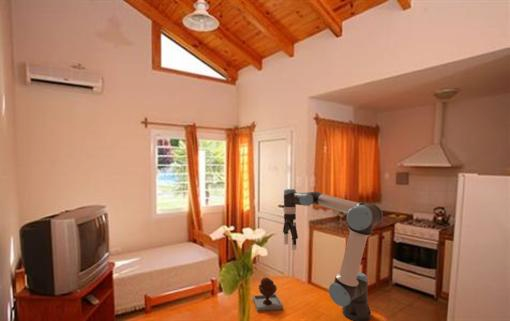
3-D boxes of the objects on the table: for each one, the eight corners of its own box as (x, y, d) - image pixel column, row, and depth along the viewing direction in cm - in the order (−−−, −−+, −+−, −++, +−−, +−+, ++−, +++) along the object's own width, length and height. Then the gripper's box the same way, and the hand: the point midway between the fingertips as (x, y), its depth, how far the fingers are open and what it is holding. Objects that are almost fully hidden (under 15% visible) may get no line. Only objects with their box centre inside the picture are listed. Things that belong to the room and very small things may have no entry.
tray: (282, 309, 157) (282, 305, 157) (257, 312, 154) (257, 307, 154) (276, 297, 172) (276, 293, 172) (252, 299, 169) (252, 295, 169)
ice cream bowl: (275, 308, 157) (275, 281, 158) (256, 305, 159) (256, 279, 160) (277, 299, 167) (277, 274, 168) (259, 297, 170) (260, 273, 170)
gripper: (278, 210, 185) (278, 242, 184) (291, 216, 161) (291, 252, 160) (288, 210, 187) (288, 241, 186) (303, 215, 163) (303, 252, 162)
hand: (290, 247), depth 173 cm, fingers open, 13 cm apart
